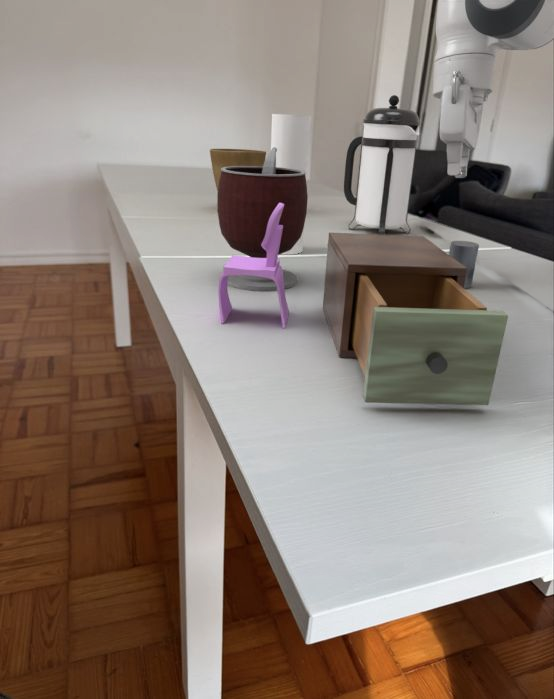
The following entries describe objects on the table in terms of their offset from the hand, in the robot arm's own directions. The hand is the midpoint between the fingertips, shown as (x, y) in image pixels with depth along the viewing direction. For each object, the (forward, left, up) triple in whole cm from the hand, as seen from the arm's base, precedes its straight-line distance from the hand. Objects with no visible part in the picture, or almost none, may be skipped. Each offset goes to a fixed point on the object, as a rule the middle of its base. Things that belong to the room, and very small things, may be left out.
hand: (457, 176), depth 87 cm
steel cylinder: (-2, +2, -17) cm, 17 cm away
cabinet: (+16, +25, -17) cm, 35 cm away
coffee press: (+3, -44, -17) cm, 47 cm away
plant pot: (+37, -64, -17) cm, 75 cm away
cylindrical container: (+26, -19, -17) cm, 36 cm away
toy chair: (+32, +21, -17) cm, 42 cm away
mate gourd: (+31, +2, -17) cm, 35 cm away
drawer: (+16, +39, -16) cm, 45 cm away
